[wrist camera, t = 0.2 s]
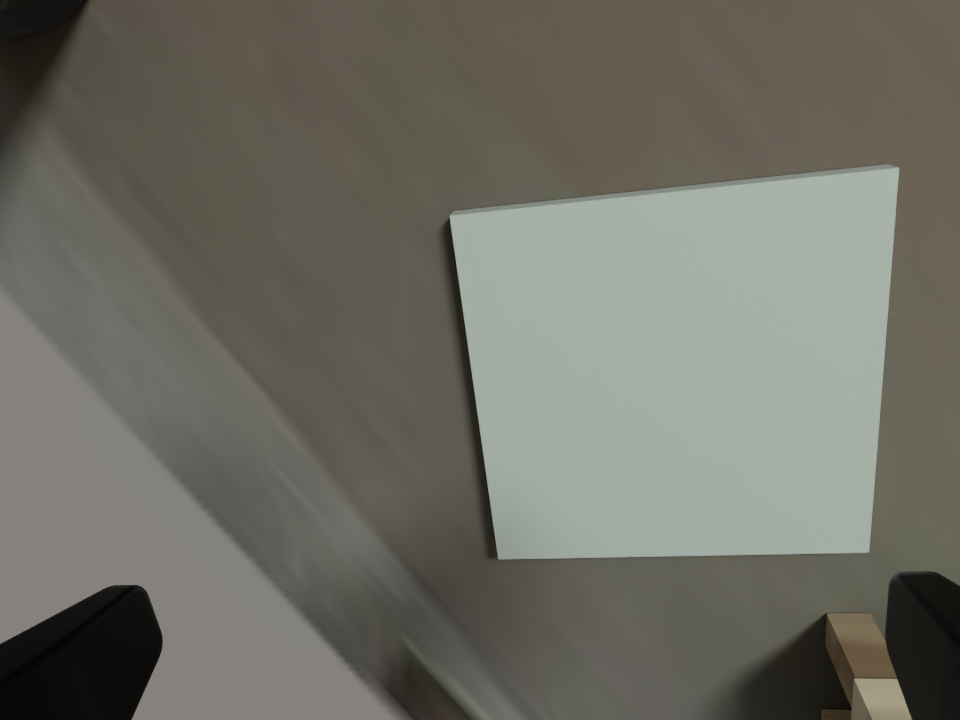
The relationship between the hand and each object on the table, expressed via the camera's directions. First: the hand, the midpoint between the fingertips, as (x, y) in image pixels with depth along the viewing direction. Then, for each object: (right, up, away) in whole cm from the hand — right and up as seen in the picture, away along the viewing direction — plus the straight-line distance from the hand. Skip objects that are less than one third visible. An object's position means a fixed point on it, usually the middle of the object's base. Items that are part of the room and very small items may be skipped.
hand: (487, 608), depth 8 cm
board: (+6, +2, +14) cm, 15 cm away
